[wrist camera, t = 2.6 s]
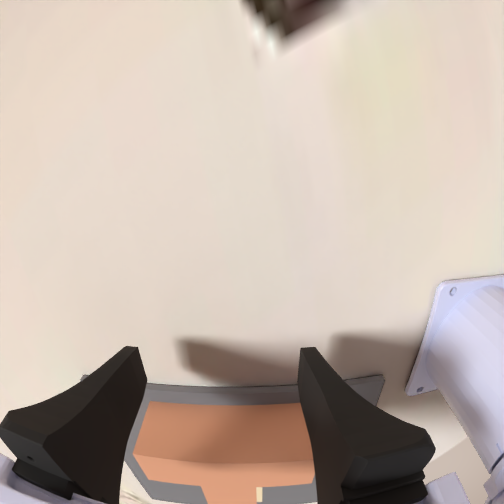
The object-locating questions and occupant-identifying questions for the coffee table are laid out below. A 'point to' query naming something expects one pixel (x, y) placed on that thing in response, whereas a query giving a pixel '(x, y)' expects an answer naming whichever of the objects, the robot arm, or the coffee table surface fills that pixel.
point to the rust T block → (225, 448)
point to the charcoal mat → (268, 498)
